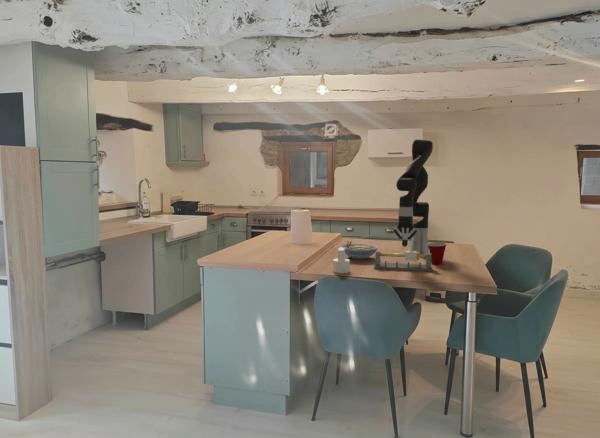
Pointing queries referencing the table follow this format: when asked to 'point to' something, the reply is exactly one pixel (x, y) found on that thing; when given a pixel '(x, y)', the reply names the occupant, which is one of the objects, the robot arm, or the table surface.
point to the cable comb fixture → (403, 266)
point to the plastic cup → (437, 252)
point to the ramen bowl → (359, 250)
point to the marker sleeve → (411, 254)
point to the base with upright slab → (341, 262)
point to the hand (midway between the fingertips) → (404, 246)
